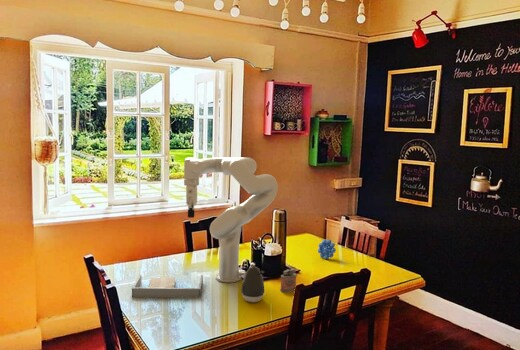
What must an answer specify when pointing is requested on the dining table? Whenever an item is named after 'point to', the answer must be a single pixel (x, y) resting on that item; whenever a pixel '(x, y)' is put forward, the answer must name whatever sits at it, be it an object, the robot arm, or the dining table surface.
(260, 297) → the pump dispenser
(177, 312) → the dining table surface
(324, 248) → the blue knobbly wheel
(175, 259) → the dining table surface
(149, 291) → the box
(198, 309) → the dining table surface
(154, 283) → the washcloth
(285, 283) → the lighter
